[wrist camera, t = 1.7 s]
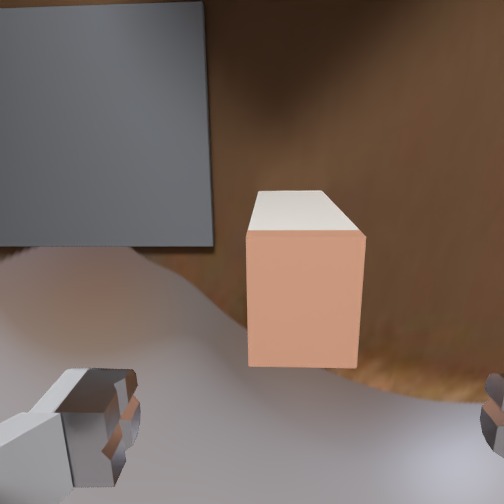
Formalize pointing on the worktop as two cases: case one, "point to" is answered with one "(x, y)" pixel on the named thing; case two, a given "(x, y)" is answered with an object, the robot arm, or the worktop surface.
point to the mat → (105, 126)
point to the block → (303, 282)
